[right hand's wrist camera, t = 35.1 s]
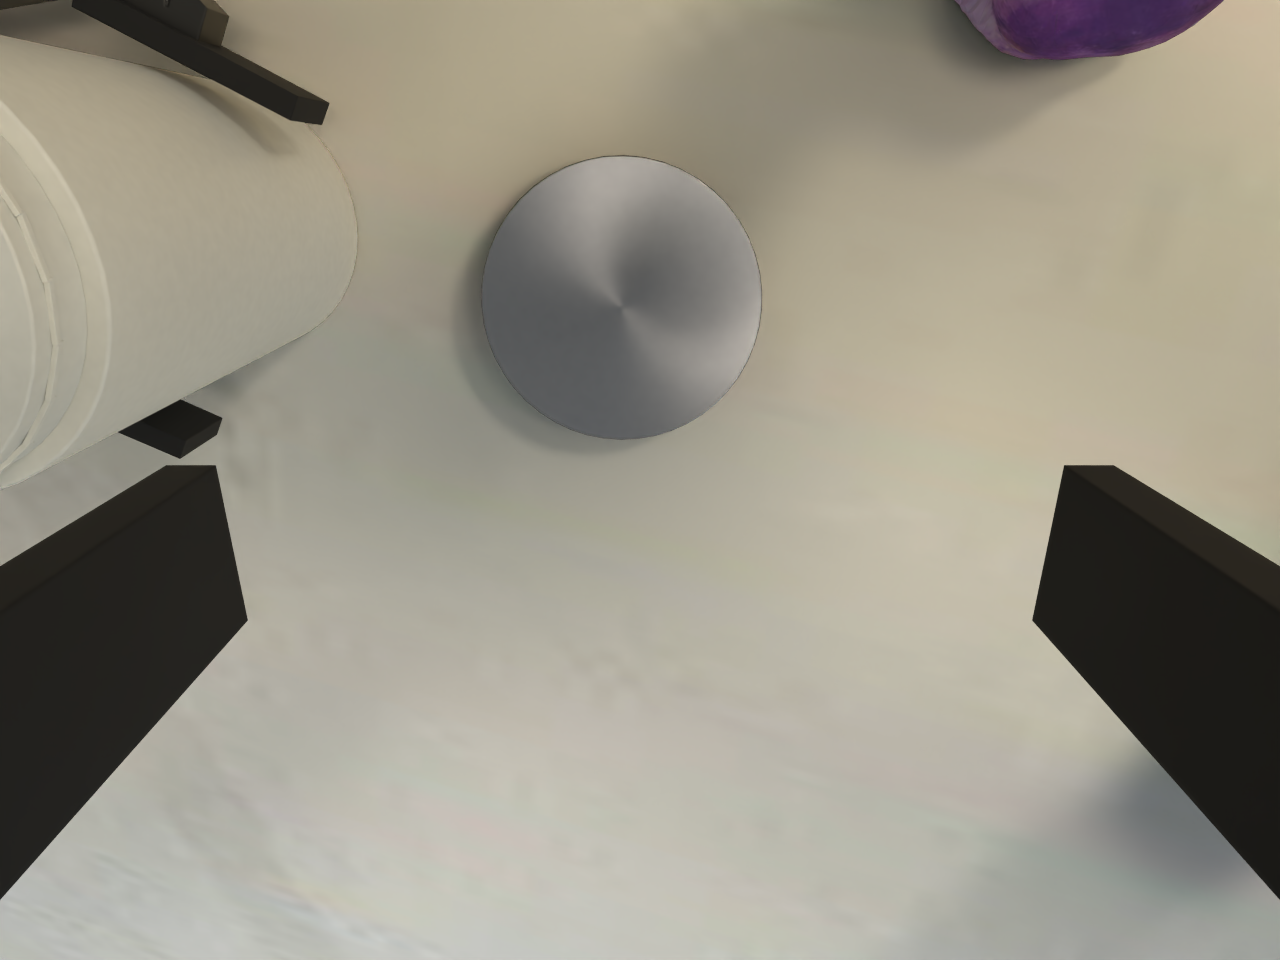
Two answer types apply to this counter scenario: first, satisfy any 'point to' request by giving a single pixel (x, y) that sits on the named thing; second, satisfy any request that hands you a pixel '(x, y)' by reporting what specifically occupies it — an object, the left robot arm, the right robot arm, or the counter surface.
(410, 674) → the counter surface
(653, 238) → the lid
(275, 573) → the counter surface
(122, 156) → the jar
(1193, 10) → the figurine
